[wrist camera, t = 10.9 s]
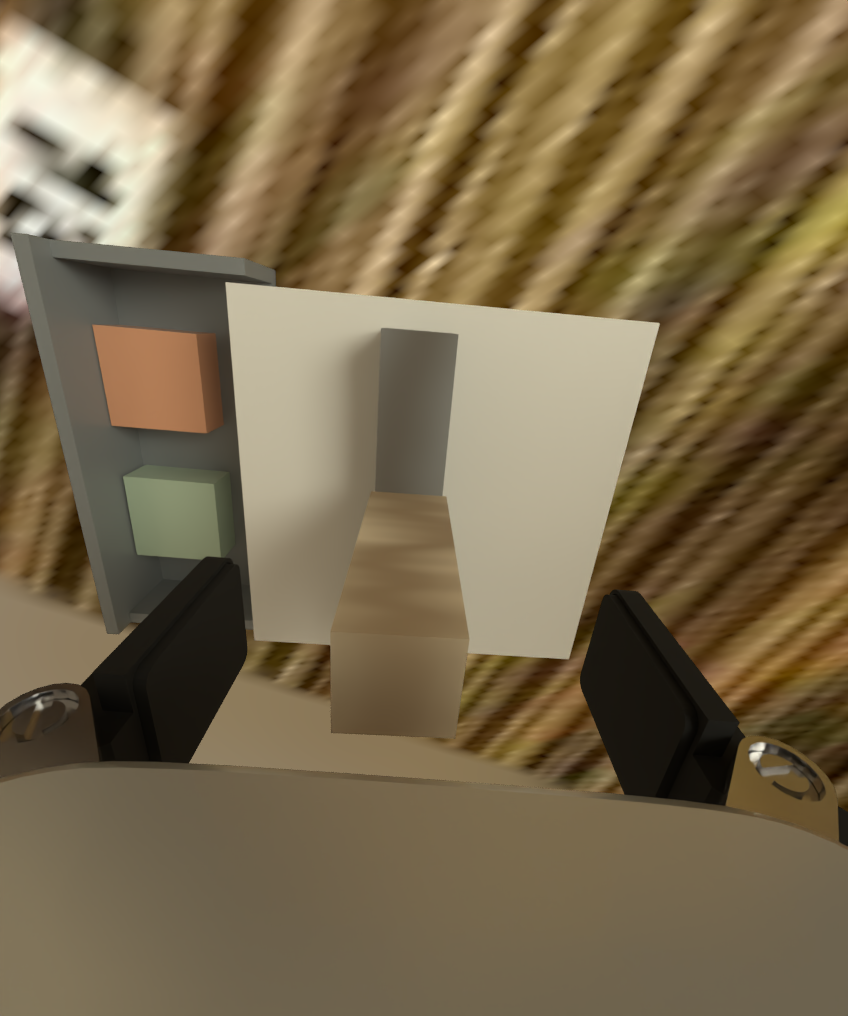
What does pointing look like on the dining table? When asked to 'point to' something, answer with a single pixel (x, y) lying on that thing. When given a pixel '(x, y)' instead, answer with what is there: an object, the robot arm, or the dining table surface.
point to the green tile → (180, 511)
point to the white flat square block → (469, 461)
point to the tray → (83, 405)
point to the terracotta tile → (160, 378)
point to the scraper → (404, 561)
